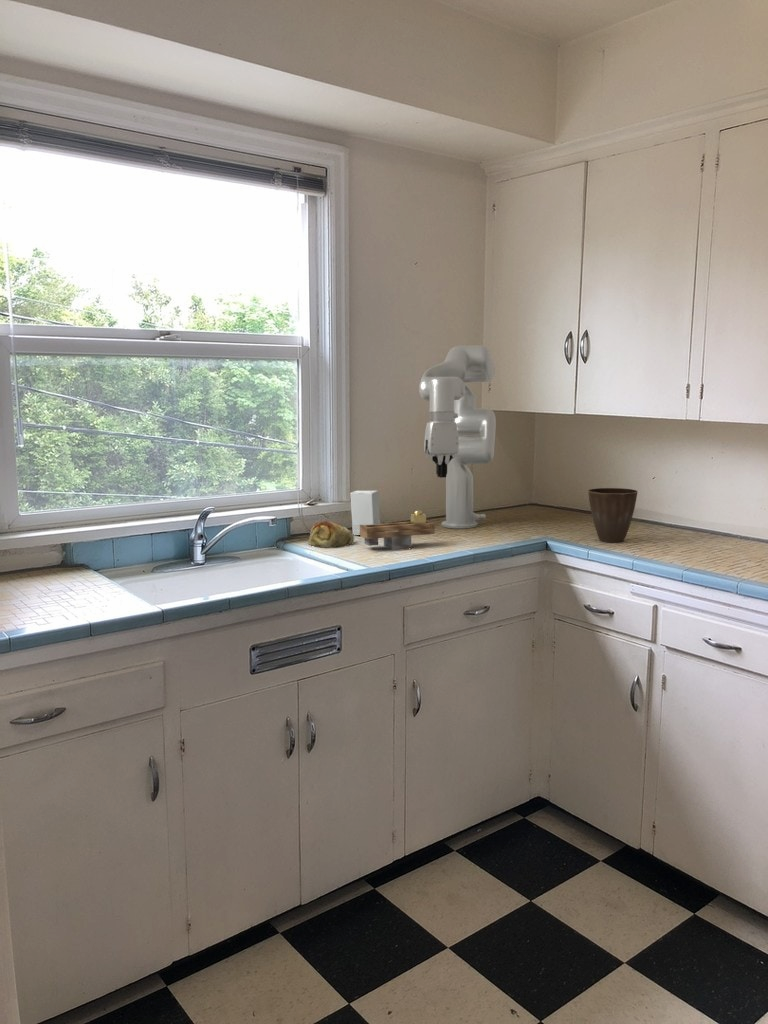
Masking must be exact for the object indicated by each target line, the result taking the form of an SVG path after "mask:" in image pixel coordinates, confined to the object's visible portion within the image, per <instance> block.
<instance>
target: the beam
mask: <svg viewBox="0 0 768 1024" xmlns="http://www.w3.org/2000/svg"><path fill="white" fill-rule="evenodd" d="M435 527H436V525H435V522H433V521H429V520H427V519H426V523H420V524H411V521H404V522H403V521H401V522H389V523H388V522H387V523H380V524H372V525H360V536H359V537H363V538H364V545H367V546H369V547H370V546H371V547H372V546H379V539H383V546H384V547H385V546H386V547H385V548H387V549H389V548H390V549H389V550H391V549H392V551H400V550H399V549H403V550H410V549H409V548H411V549H412V536H424V535H434V534H436V533H435V531H436V530H435Z"/></svg>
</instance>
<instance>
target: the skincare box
mask: <svg viewBox="0 0 768 1024" xmlns="http://www.w3.org/2000/svg"><path fill="white" fill-rule="evenodd" d="M349 497H350V511H351V527H352V529H351V531H352V535H353V534H354V536H355V535H360V525H372V524H381V516H380V513H381V512H380V498H379V497H380V495H379V490H374V489H373V490H354V491H352V492H350V496H349Z"/></svg>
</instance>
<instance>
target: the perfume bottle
mask: <svg viewBox="0 0 768 1024" xmlns="http://www.w3.org/2000/svg"><path fill="white" fill-rule="evenodd" d="M426 520H427V514H426V513H423V510H414V513H410V522H411V524H420V523H426Z"/></svg>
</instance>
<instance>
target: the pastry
mask: <svg viewBox="0 0 768 1024" xmlns="http://www.w3.org/2000/svg"><path fill="white" fill-rule="evenodd" d="M309 534H310V535H309V539H308V542H307V543H308V546H309V545H311V546H310V547H312V546H315V547H316V546H317V547H316V548H323V547H325V549H326V548H327V549H330V547H332V548H338V547H344V546H345V545H346V546H352V545H353V544H354V540H355V537H354V536H353V533H352V530H349V528H347V527H345V526H342V525H339V524H337V523H335V522H332V521H327V520H326V521H321V522H316V523H315V524H313V526H312V527H311V528H310V533H309Z"/></svg>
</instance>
